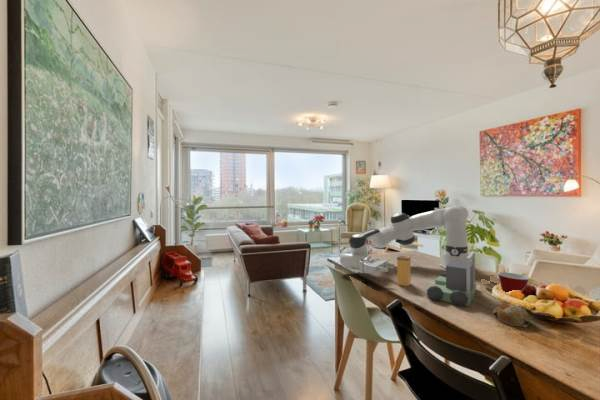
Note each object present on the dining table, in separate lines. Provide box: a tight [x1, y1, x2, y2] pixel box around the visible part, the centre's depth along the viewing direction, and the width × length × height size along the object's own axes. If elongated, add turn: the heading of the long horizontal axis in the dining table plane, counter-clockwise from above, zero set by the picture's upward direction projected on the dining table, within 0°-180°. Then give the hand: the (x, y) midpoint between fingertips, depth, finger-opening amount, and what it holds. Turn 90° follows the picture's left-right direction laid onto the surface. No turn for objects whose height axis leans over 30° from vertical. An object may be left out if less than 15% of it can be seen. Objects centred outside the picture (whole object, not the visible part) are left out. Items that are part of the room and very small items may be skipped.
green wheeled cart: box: [426, 250, 477, 307], centre depth 124 cm, size 28×16×19 cm, turn 141°
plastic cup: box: [497, 271, 531, 292], centre depth 113 cm, size 11×11×12 cm
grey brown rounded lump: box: [492, 302, 531, 328], centre depth 97 cm, size 10×10×8 cm
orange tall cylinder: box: [396, 255, 412, 287], centre depth 138 cm, size 5×5×14 cm
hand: (391, 267), depth 141 cm, fingers open, 8 cm apart
